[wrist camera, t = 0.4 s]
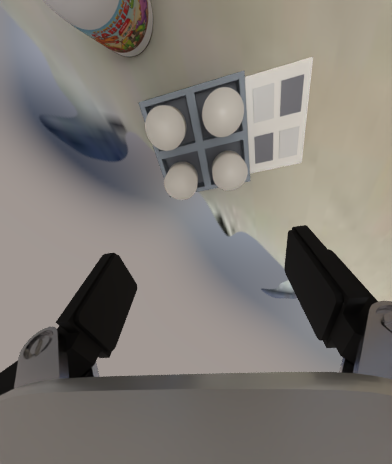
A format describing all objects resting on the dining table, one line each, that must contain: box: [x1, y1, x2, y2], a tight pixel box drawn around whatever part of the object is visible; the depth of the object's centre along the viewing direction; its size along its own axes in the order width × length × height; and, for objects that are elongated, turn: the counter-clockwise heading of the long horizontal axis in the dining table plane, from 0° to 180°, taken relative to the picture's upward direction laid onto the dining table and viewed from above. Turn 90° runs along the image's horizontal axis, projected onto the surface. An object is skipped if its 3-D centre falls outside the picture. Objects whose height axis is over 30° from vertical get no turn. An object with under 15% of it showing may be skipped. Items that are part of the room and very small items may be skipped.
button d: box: [212, 151, 248, 191], centre depth 27 cm, size 5×5×5 cm
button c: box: [164, 162, 198, 200], centre depth 29 cm, size 5×5×5 cm
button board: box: [139, 71, 250, 197], centre depth 30 cm, size 15×15×3 cm
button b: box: [202, 87, 244, 137], centre depth 23 cm, size 5×5×5 cm
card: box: [245, 57, 313, 173], centre depth 28 cm, size 14×9×1 cm, turn 13°
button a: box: [145, 105, 187, 151], centre depth 24 cm, size 5×5×5 cm
